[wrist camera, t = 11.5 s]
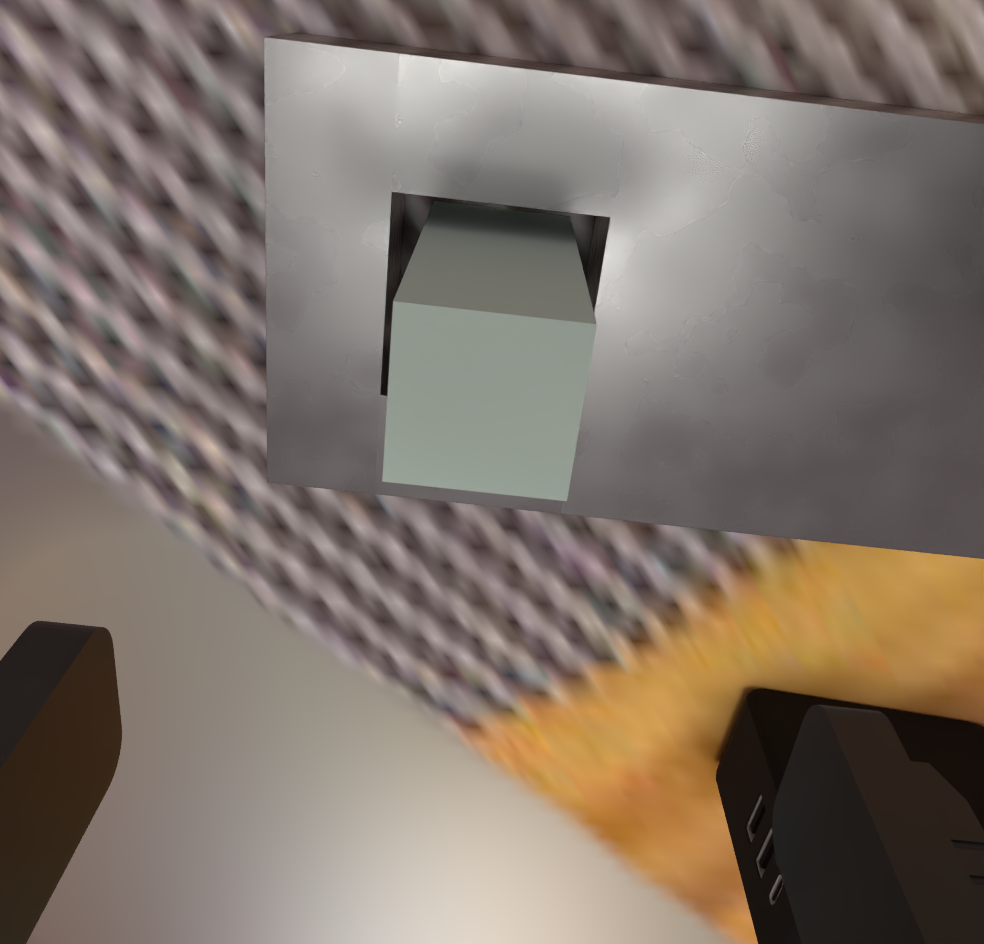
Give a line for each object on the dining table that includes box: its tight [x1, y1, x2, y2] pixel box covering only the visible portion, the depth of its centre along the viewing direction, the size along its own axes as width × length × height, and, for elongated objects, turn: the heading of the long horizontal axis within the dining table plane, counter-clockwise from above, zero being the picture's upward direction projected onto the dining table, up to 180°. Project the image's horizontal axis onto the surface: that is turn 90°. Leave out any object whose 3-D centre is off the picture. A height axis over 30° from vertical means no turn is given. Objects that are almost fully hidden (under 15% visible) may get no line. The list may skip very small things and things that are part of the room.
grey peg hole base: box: [264, 33, 984, 559], centre depth 26 cm, size 22×12×4 cm, turn 84°
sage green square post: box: [382, 201, 597, 501], centre depth 23 cm, size 4×4×10 cm
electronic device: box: [716, 689, 984, 944], centre depth 31 cm, size 4×10×10 cm, turn 80°
